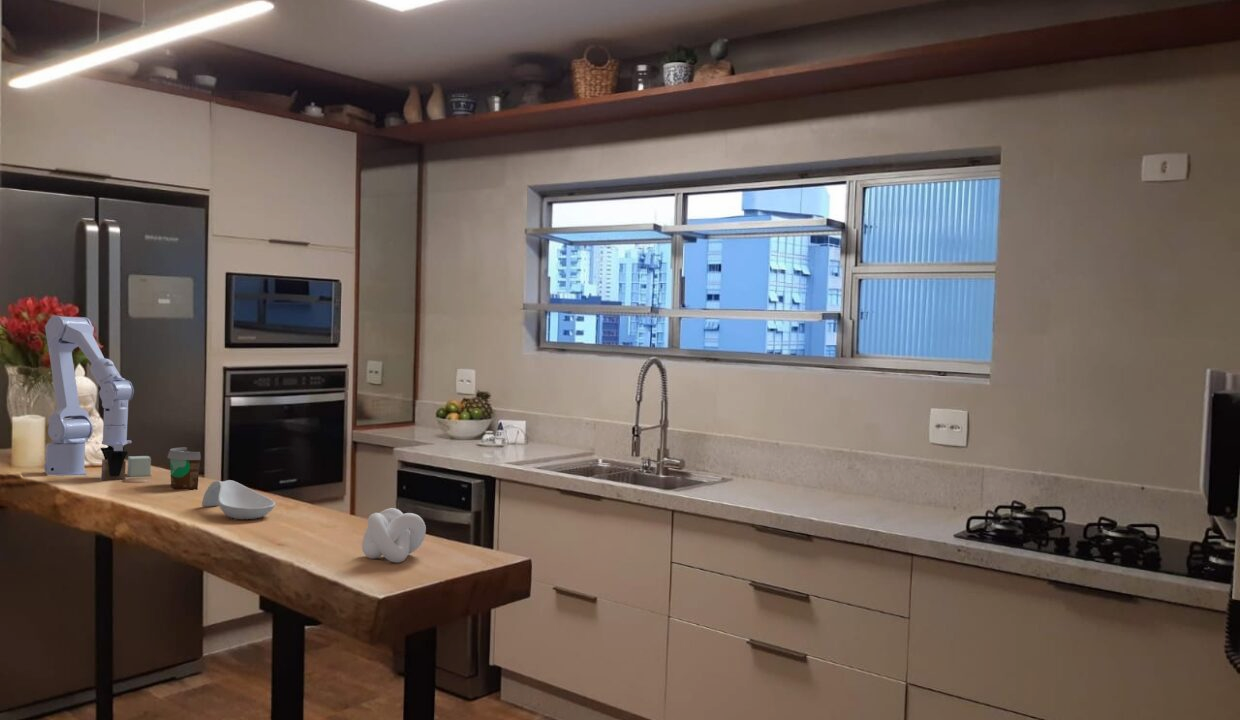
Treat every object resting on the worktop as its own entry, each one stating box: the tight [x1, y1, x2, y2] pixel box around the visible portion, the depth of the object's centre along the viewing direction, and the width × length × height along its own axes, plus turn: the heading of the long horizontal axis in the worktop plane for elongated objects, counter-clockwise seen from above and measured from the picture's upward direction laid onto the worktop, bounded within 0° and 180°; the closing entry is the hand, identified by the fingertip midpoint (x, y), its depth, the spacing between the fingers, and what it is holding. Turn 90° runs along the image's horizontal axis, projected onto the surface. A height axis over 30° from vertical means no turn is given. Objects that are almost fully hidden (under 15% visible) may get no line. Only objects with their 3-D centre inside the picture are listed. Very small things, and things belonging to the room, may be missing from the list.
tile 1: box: [99, 477, 127, 482], centre depth 246 cm, size 6×6×1 cm
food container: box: [167, 446, 202, 491], centre depth 239 cm, size 12×6×10 cm, turn 42°
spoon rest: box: [201, 479, 276, 521], centre depth 207 cm, size 24×12×7 cm, turn 49°
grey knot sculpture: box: [361, 507, 427, 564], centre depth 172 cm, size 11×12×9 cm
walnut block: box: [100, 458, 127, 481], centre depth 246 cm, size 5×5×5 cm
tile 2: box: [125, 473, 153, 478], centre depth 254 cm, size 6×6×1 cm
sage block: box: [126, 455, 152, 478], centre depth 254 cm, size 5×5×5 cm
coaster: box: [122, 477, 153, 484], centre depth 244 cm, size 7×7×1 cm
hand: (113, 474), depth 246 cm, fingers closed on walnut block, 5 cm apart
